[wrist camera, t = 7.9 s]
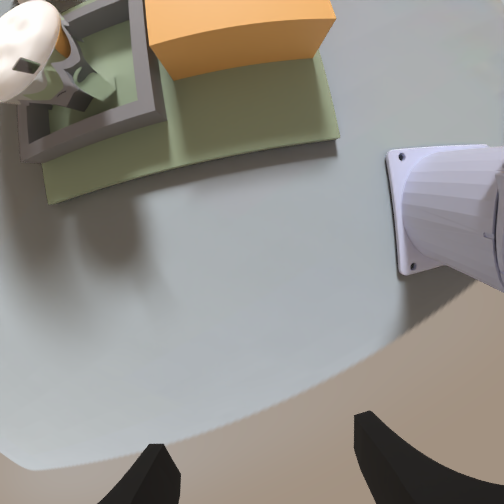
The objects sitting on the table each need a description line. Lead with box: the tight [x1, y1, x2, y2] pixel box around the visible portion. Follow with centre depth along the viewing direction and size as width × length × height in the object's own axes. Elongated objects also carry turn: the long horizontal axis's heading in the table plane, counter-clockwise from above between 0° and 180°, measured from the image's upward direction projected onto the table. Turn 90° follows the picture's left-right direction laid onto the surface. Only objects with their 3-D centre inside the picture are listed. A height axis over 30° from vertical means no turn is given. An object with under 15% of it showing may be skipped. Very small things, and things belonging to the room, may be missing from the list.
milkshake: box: [0, 0, 116, 116], centre depth 10 cm, size 4×5×10 cm
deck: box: [17, 0, 340, 205], centre depth 13 cm, size 18×14×6 cm
